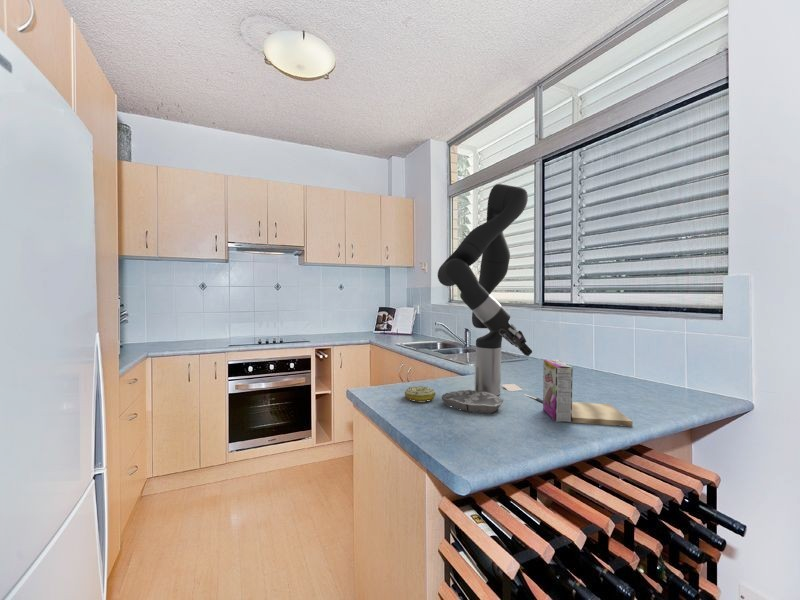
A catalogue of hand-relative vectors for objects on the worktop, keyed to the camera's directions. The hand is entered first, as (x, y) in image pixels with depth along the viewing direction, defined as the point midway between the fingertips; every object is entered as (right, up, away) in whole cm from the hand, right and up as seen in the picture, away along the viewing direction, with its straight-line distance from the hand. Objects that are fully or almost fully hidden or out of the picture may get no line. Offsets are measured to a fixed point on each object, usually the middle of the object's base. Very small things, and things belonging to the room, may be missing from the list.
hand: (529, 353), depth 111 cm
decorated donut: (-32, -19, +18) cm, 41 cm away
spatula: (+8, -19, +22) cm, 30 cm away
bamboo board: (+20, -19, +3) cm, 28 cm away
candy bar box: (+9, -19, +2) cm, 21 cm away
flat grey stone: (-15, -19, +11) cm, 27 cm away
